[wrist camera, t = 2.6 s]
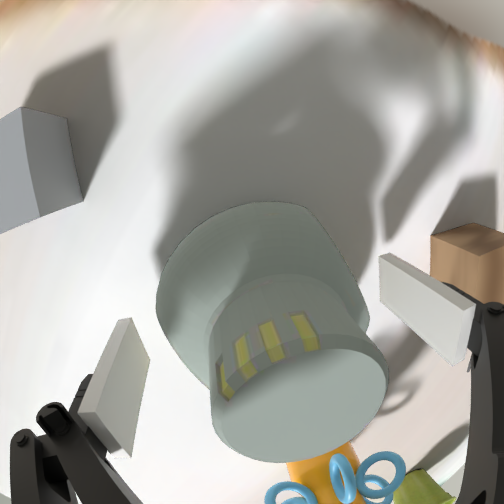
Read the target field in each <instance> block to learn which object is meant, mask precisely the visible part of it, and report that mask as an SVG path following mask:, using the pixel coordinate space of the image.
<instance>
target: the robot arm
mask: <svg viewBox="0 0 504 504" xmlns="http://www.w3.org/2000/svg"><path fill="white" fill-rule="evenodd" d="M379 279H380V302H381V303H383V304H384V305H385V306H386V307H387V308H388V309H389V310H391V311H392V312H393V313H394V314H395V315H396V316H397V317H399V318H400V319H401V320H402V321H403V322H404V323H405V324H406V325H407V326H409V327H410V328H411V329H412V330H413V331H414V332H415V333H416V334H417V335H419V336H420V337H421V338H422V339H423V340H424V341H425V342H426V343H427V344H428V345H430V346H431V347H432V348H433V349H434V350H435V351H436V352H437V353H438V354H439V355H440V356H441V357H442V358H443V359H445V360H446V361H447V362H448V363H449V364H450V365H451V366H454V365H456V364H457V363H459V362H461V361H462V360H464V359H465V355H466V351H467V348H468V349H469V350H471V351H472V355H471V359H470V362H469V366H468V369H467V372H469V371H470V368H471V411H470V427H469V439H468V448H467V456H466V463H465V469H464V476H463V481H462V486H461V491H460V494H459V497H458V499H457V501H456V503H455V504H504V304H502V303H499V302H488V303H485V304H483V303H482V302H480V301H479V300H477V299H475V298H474V297H472V296H470V295H469V294H467V293H465V292H464V291H462V290H460V289H459V288H457V287H456V286H454V285H452V284H449V283H445V282H440V281H438V280H436V279H435V278H433V277H431V276H430V275H428V274H426V273H425V272H423V271H421V270H419V269H418V268H416V267H414V266H413V265H411V264H409V263H407V262H406V261H404V260H402V259H400V258H399V257H397V256H395V255H393V254H391V253H388V254H384V255H381V256H379ZM149 364H150V359H149V356H148V354H147V352H146V350H145V348H144V346H143V343H142V341H141V339H140V336H139V334H138V332H137V330H136V327H135V325H134V322H133V320H132V318H126V319H121V320H118V322H117V324H116V326H115V328H114V330H113V332H112V334H111V336H110V338H109V340H108V343H107V345H106V347H105V349H104V351H103V353H102V356H101V358H100V360H99V362H98V365H97V367H96V369H95V371H94V374H88V375H87V376H86V377H85V379H84V380H83V381H82V382H81V384H80V386H79V388H78V391H77V393H76V395H75V398H74V400H73V402H72V404H71V407H70V409H69V412H68V411H67V410H66V409H65V407H64V406H63V405H62V404H61V403H59V402H52V403H49V404H47V405H45V406H44V407H42V408H41V409H40V411H39V412H38V414H37V416H36V422H37V423H38V424H39V425H40V427H41V428H42V429H43V430H44V432H45V433H46V434H45V435H42V436H38V437H37V436H36V435H35V434H34V433H33V432H32V431H31V430H30V429H22V430H20V431H18V432H16V433H15V434H14V436H13V437H12V439H11V443H10V487H11V501H12V504H78V501H77V498H76V494H77V495H78V497H79V499H80V501H81V502H82V504H143V503H142V502H141V501H140V500H139V498H138V497H137V496H136V495H135V494H134V493H133V491H132V490H131V489H130V488H129V487H128V485H127V484H126V483H125V482H124V480H123V479H122V478H121V477H120V475H119V474H118V473H117V471H116V470H115V469H114V467H113V466H112V465H111V463H110V462H109V461H108V460H107V459H106V458H105V457H106V453H107V450H108V452H109V453H110V454H111V455H112V456H113V457H114V458H131V457H132V450H133V444H134V438H135V433H136V427H137V422H138V416H139V411H140V406H141V401H142V396H143V391H144V386H145V382H146V377H147V372H148V368H149ZM75 492H76V494H75Z"/></svg>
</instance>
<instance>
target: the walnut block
mask: <svg viewBox="0 0 504 504" xmlns="http://www.w3.org/2000/svg"><path fill="white" fill-rule="evenodd" d="M430 276H431V277H433V278H435V279H436V280H438V281H440V282H445V283H449V284H452V285H454V286H456V287H457V288H459V289H460V290H462V291H464V292H465V293H467V294H469V295H470V296H472V297H474V298H475V299H477V300H479V301H480V302H482V303H483V304H485V303H488V302H499V303H502V304H504V233H502V232H499V231H496V230H493V229H490V228H488V227H485V226H482V225H479V224H476V223H471V224H467V225H464V226H461V227H458V228H454V229H451V230H448V231H444V232H441V233H438V234H434V235H431V258H430Z"/></svg>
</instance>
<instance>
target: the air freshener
mask: <svg viewBox="0 0 504 504" xmlns="http://www.w3.org/2000/svg"><path fill="white" fill-rule="evenodd" d="M156 314H157V318H158V321H159V323H160V326H161V328H162V330H163V332H164V334H165V336H166V338H167V339H168V341H169V343H170V345H171V346H172V348H173V349H174V350H175V352H176V353H177V355H178V356H179V358H180V359H181V360H182V362H183V363H184V364H185V365H186V366H187V368H188V369H189V370H190V371H191V372H192V373H193V374H194V375H195V377H196V378H197V379H198V380H199V381H200V382H201V383H202V384H204V385H205V386H206V387H207V388H208V389H209V390H210V400H211V416H212V424H213V427H214V429H215V432H216V434H217V435H218V437H219V438H220V439H221V441H222V442H223V443H225V444H226V445H227V446H228V447H229V448H231V449H233V450H234V451H236V452H238V453H240V454H242V455H244V456H246V457H249V458H252V459H255V460H259V461H264V462H273V463H288V462H296V461H302V460H306V459H311V458H314V457H317V456H320V455H323V454H325V453H328V452H330V451H332V450H334V449H336V448H338V447H340V446H342V445H343V444H345V443H346V442H348V441H349V440H351V439H352V438H354V437H355V436H356V435H357V434H358V433H360V432H361V431H362V430H363V429H364V428H365V427H366V426H367V425H368V424H369V423H370V421H371V420H372V419H373V418H374V416H375V415H376V413H377V412H378V410H379V408H380V406H381V404H382V402H383V399H384V397H385V394H386V391H387V388H388V382H389V369H388V366H387V362H386V360H385V358H384V356H383V355H382V353H381V352H380V350H379V349H378V348H377V347H376V346H375V344H374V343H373V342H372V341H371V340H370V338H369V337H368V336H367V335H366V331H367V328H368V326H369V321H370V316H369V312H368V309H367V306H366V303H365V301H364V298H363V296H362V293H361V291H360V289H359V287H358V285H357V283H356V281H355V279H354V277H353V275H352V273H351V271H350V269H349V268H348V266H347V264H346V262H345V260H344V259H343V257H342V255H341V254H340V252H339V251H338V249H337V247H336V246H335V244H334V243H333V241H332V239H331V238H330V237H329V235H328V234H327V232H326V231H325V229H324V228H323V227H322V225H321V224H320V223H319V221H318V220H317V219H316V218H315V216H314V215H313V214H312V213H311V212H310V211H309V210H308V209H307V208H305V207H303V206H299V205H296V204H292V203H284V202H273V201H268V202H256V203H248V204H244V205H240V206H237V207H233V208H230V209H227V210H225V211H223V212H221V213H219V214H216V215H214V216H212V217H211V218H209V219H208V220H206V221H205V222H203V223H202V224H200V225H199V226H197V227H196V228H195V229H194V230H193V231H192V232H191V233H190V234H188V235H187V236H186V237H185V238H184V239H183V240H182V241H181V242H180V244H179V245H178V247H177V248H176V249H175V251H174V252H173V253H172V255H171V256H170V258H169V260H168V262H167V264H166V266H165V268H164V270H163V273H162V275H161V278H160V282H159V286H158V290H157V294H156Z"/></svg>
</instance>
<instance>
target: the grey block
mask: <svg viewBox="0 0 504 504" xmlns="http://www.w3.org/2000/svg"><path fill="white" fill-rule="evenodd" d="M80 202H83V197H82V193H81V189H80V185H79V180H78V176H77V171H76V167H75V162H74V157H73V152H72V146H71V141H70V135H69V129H68V122H67V118H64V117H60V116H56V115H52V114H49V113H45V112H41V111H37V110H33V109H28V108H24V107H19V108H18V109H16V110H14V111H13V112H11V113H9V114H8V115H6V116H5V117H3V118H1V119H0V234H2V233H4V232H6V231H8V230H11V229H13V228H15V227H18V226H20V225H22V224H25V223H27V222H30V221H32V220H35V219H37V218H40V217H42V216H45V215H47V214H50V213H53V212H55V211H58V210H61V209H63V208H66V207H69V206H71V205H74V204H77V203H80Z"/></svg>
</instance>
